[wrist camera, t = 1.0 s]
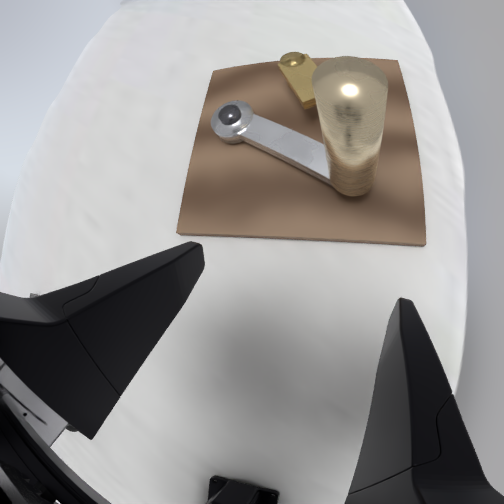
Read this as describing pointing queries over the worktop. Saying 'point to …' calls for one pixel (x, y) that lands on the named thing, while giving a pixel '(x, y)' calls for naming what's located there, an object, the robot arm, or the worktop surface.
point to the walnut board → (299, 171)
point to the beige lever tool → (323, 126)
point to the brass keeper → (299, 76)
